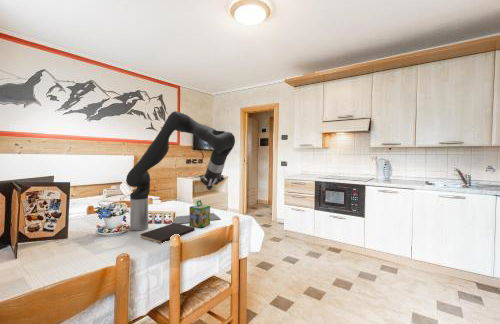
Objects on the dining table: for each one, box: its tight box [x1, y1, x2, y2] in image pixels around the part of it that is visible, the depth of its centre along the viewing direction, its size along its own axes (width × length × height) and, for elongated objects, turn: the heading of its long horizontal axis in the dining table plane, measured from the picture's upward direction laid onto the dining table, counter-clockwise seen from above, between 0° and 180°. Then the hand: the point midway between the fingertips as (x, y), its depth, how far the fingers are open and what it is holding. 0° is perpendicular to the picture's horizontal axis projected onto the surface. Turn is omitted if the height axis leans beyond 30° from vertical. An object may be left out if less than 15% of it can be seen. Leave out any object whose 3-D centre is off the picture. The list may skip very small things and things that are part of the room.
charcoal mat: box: [171, 212, 222, 225], centre depth 159 cm, size 30×16×1 cm, turn 115°
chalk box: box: [188, 199, 211, 229], centre depth 146 cm, size 9×9×15 cm
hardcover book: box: [139, 223, 196, 244], centre depth 130 cm, size 16×23×2 cm
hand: (208, 188), depth 129 cm, fingers closed
